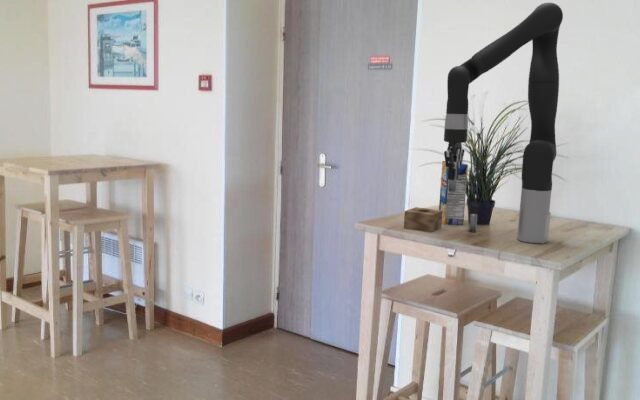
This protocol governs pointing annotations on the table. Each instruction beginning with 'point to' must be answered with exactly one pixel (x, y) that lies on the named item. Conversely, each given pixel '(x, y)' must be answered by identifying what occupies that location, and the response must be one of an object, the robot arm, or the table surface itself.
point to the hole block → (423, 219)
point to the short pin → (473, 223)
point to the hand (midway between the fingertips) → (452, 179)
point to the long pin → (453, 182)
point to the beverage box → (453, 196)
